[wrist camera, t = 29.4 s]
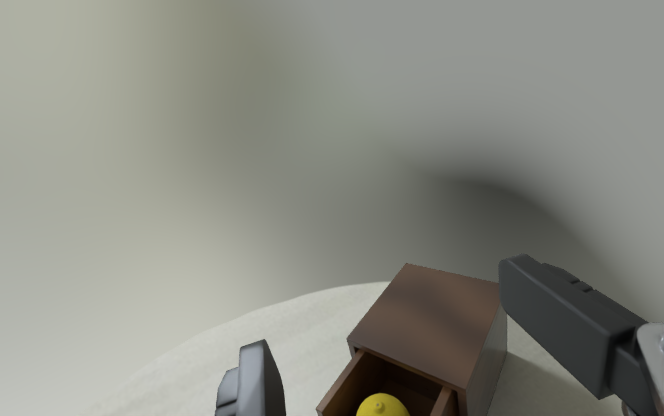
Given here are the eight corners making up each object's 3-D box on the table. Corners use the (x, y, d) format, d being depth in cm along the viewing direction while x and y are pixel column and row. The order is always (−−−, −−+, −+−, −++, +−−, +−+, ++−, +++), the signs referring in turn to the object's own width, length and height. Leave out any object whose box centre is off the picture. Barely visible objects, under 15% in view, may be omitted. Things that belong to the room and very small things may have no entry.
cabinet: (471, 461, 32) (465, 389, 28) (363, 401, 40) (346, 338, 36) (507, 350, 42) (507, 284, 38) (414, 320, 50) (405, 262, 45)
